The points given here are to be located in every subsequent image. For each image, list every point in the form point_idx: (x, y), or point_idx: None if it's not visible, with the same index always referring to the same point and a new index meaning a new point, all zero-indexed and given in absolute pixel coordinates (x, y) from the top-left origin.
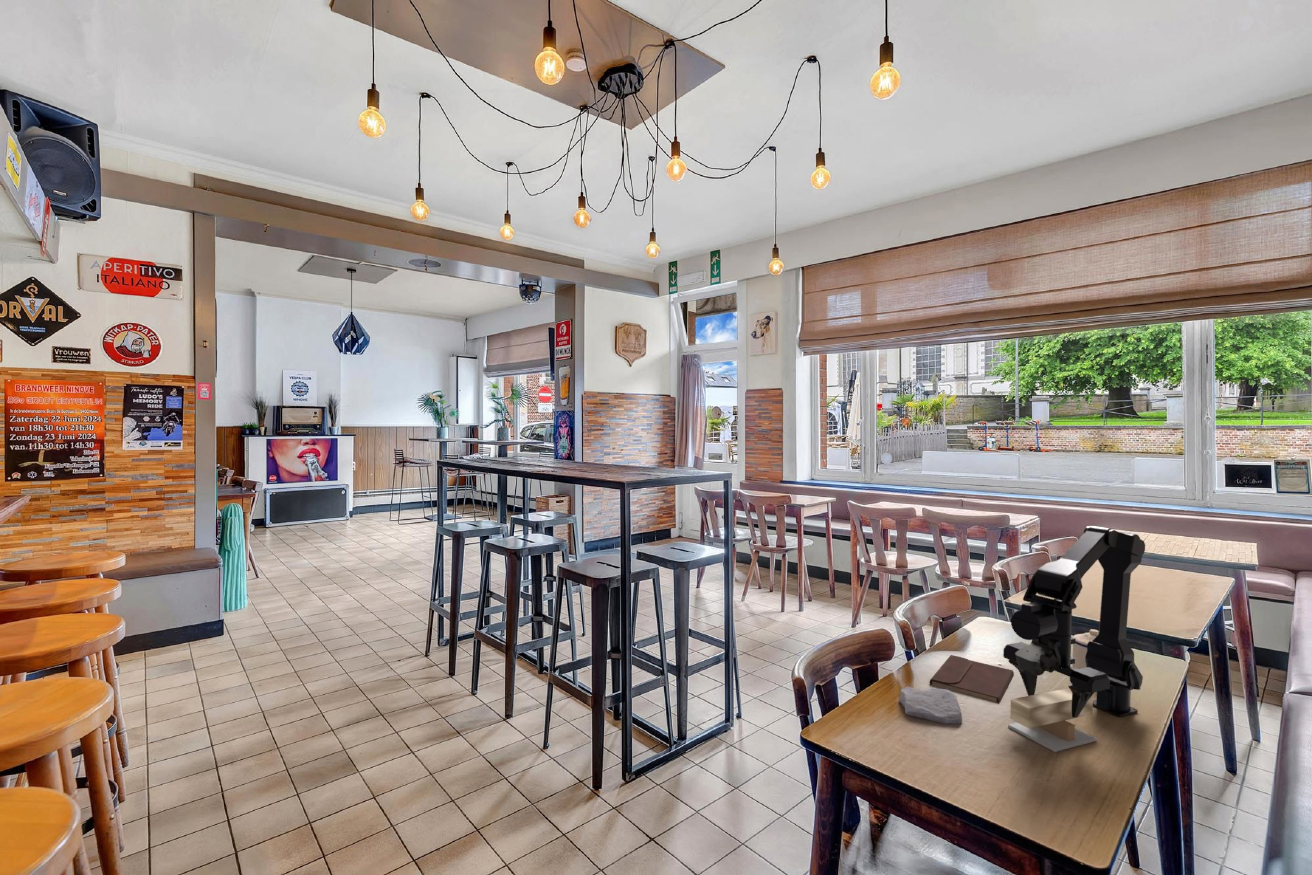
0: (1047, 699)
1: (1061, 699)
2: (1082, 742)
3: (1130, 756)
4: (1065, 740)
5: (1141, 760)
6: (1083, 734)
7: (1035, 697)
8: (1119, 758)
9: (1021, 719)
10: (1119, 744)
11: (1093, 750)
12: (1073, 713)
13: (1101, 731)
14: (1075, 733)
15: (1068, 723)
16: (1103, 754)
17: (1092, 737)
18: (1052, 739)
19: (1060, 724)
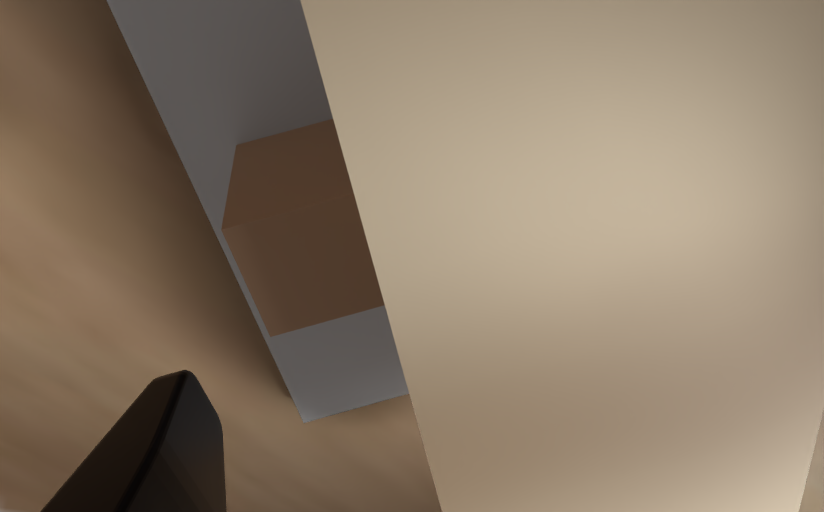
0: (584, 260)
1: (506, 499)
2: (241, 281)
3: (67, 478)
4: (259, 139)
5: (14, 507)
6: (363, 366)
7: (780, 18)
8: (15, 398)
9: None
10: (247, 502)
11: (136, 292)
12: (131, 420)
13: (426, 497)
14: (388, 319)
15: (311, 290)
16: (69, 326)
17: (311, 399)
18: (288, 4)
19: (324, 190)
